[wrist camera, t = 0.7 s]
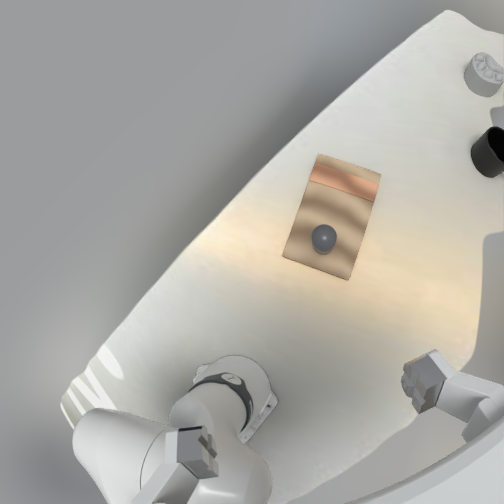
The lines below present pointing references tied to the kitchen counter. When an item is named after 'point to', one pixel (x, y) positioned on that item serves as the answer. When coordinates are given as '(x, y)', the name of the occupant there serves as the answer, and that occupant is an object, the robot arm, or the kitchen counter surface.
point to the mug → (489, 152)
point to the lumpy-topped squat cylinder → (484, 75)
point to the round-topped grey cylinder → (324, 239)
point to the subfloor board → (333, 214)
